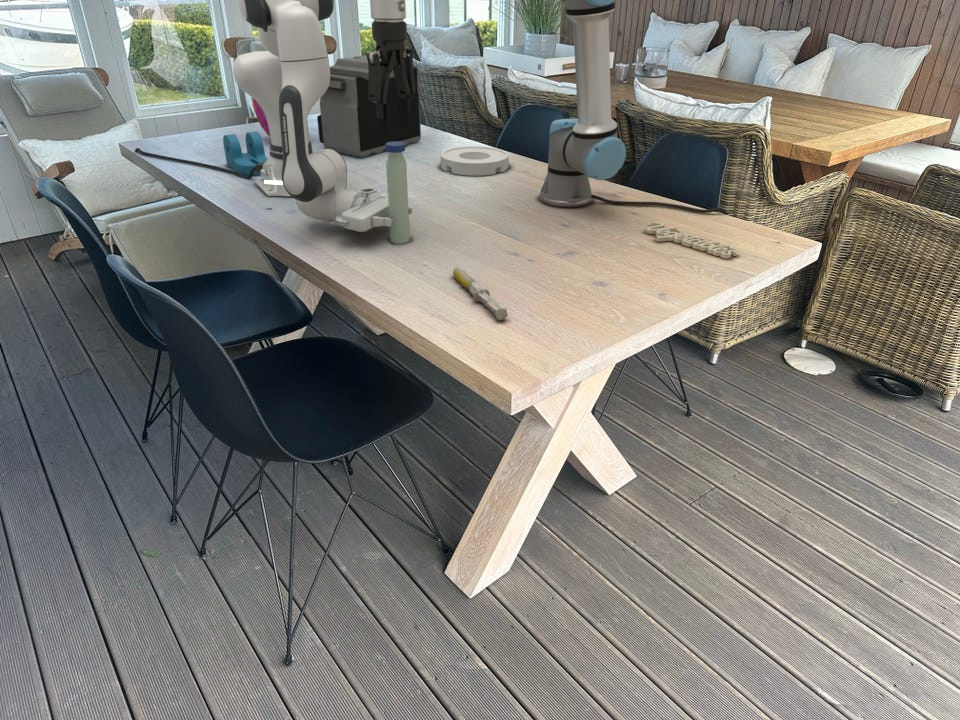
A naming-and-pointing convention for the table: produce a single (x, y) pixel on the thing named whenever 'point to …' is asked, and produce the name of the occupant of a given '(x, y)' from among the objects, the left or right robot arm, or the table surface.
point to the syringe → (479, 293)
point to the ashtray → (474, 160)
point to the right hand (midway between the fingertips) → (394, 130)
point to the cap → (395, 147)
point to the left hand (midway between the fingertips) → (401, 216)
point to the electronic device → (362, 111)
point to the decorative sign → (689, 240)
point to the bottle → (398, 197)
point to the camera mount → (244, 160)
